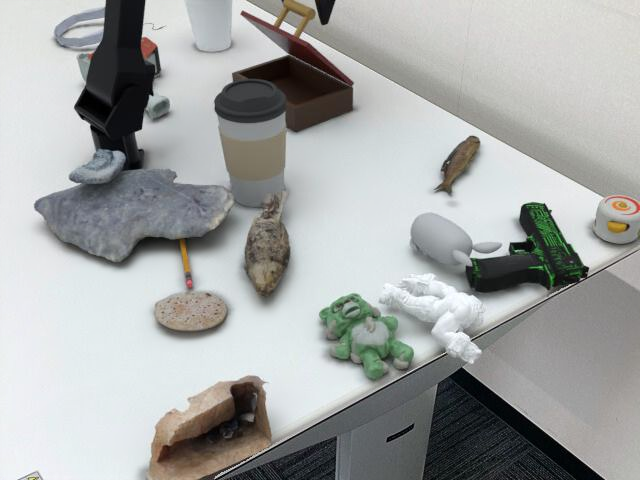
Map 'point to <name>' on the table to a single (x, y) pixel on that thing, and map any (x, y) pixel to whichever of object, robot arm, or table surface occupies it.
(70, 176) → the fossil
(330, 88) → the hinged lid box
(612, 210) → the roller toy
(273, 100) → the coffee cup
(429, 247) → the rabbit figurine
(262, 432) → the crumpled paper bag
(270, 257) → the bird model
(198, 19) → the foam cup
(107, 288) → the table surface
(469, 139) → the fish
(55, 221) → the flat rock
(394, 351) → the stuffed animal
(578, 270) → the handgun
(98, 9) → the headphones
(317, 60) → the cover
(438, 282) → the figurine
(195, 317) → the flatbread
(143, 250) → the table surface
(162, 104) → the tape dispenser
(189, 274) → the pencil
